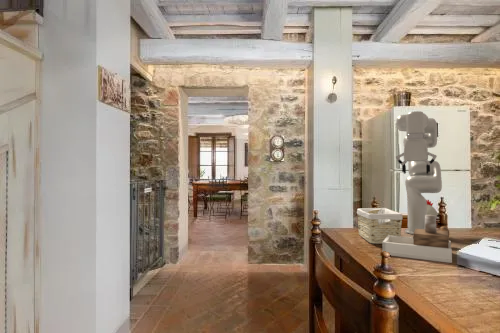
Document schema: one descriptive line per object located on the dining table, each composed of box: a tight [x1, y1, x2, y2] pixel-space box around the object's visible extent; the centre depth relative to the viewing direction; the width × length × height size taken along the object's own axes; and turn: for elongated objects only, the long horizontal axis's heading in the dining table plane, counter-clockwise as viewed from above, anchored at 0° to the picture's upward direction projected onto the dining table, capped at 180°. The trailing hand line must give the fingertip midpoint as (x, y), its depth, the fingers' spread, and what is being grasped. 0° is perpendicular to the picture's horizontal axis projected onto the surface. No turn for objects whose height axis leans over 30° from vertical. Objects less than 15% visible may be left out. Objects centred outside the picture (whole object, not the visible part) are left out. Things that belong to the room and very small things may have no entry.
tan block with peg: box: [412, 215, 450, 248], centre depth 131 cm, size 12×12×15 cm
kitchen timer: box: [426, 199, 439, 217], centre depth 206 cm, size 14×14×15 cm
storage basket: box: [356, 207, 403, 245], centre depth 161 cm, size 24×16×15 cm
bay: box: [382, 235, 453, 264], centre depth 133 cm, size 25×17×5 cm
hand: (415, 173), depth 151 cm, fingers open, 9 cm apart
